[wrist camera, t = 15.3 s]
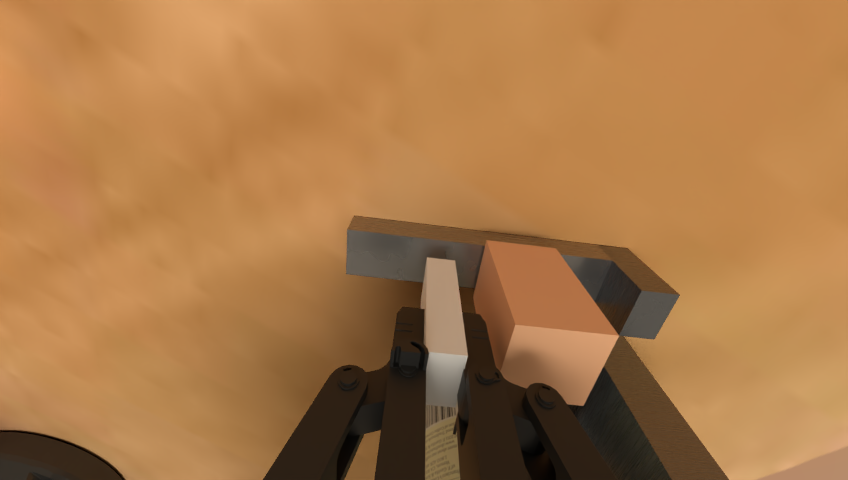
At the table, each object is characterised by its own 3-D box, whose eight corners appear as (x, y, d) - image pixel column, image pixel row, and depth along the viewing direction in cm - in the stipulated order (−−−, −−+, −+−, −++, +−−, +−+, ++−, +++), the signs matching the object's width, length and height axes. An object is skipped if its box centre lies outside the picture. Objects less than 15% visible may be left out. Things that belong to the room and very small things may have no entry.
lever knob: (472, 297, 20) (492, 396, 14) (486, 240, 19) (515, 324, 12) (536, 304, 21) (583, 405, 14) (555, 248, 19) (619, 335, 13)
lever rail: (353, 257, 22) (333, 304, 17) (354, 215, 21) (333, 255, 16) (609, 286, 23) (654, 339, 18) (627, 248, 21) (679, 294, 17)
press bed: (393, 419, 29) (367, 678, 17) (407, 311, 24) (383, 575, 11) (570, 435, 30) (671, 696, 17) (622, 335, 25) (822, 606, 12)
